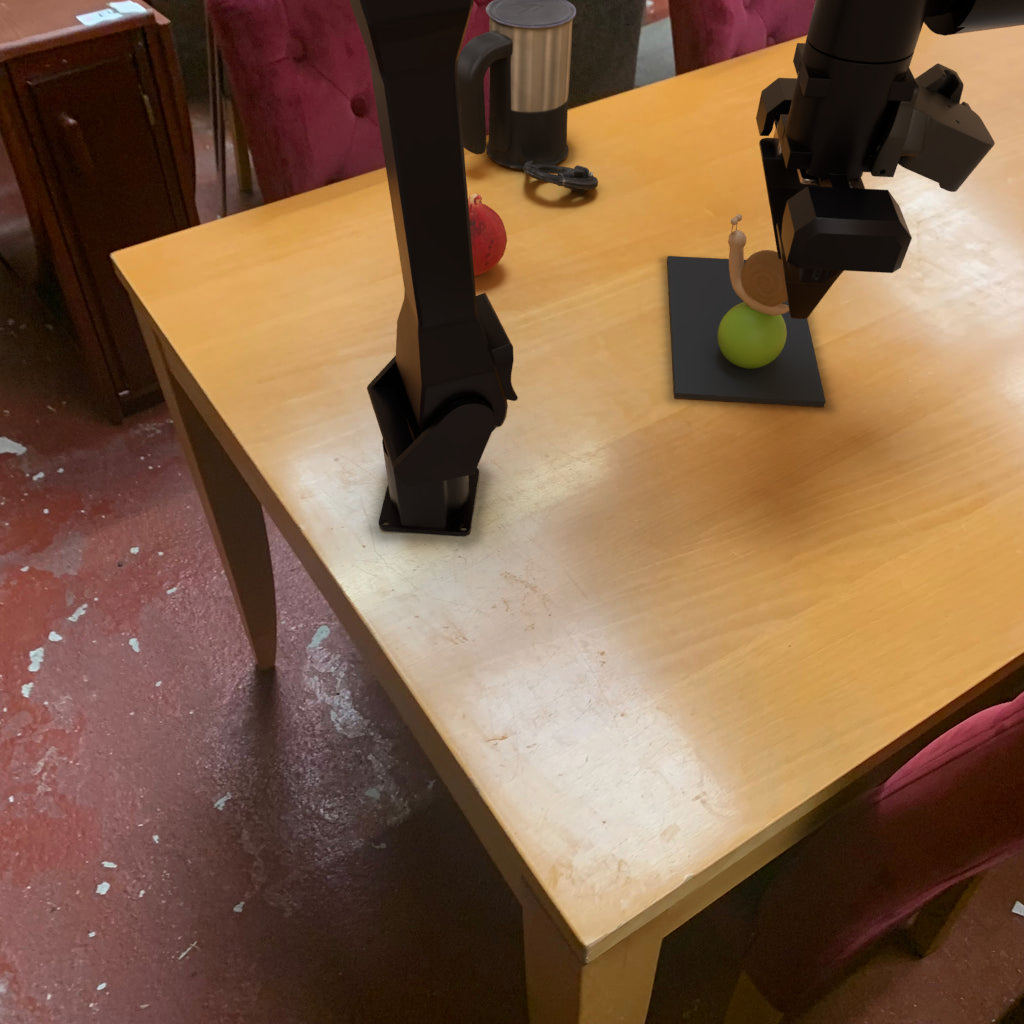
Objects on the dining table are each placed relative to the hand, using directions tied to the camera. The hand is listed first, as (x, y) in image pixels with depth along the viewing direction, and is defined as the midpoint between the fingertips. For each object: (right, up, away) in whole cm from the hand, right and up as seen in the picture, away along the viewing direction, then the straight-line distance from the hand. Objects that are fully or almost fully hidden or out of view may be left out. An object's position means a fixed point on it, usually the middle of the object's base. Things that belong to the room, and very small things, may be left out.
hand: (791, 286), depth 60 cm
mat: (+1, +1, +18) cm, 18 cm away
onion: (-22, +7, +24) cm, 33 cm away
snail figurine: (0, -2, +15) cm, 15 cm away
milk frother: (-16, +22, +37) cm, 46 cm away
